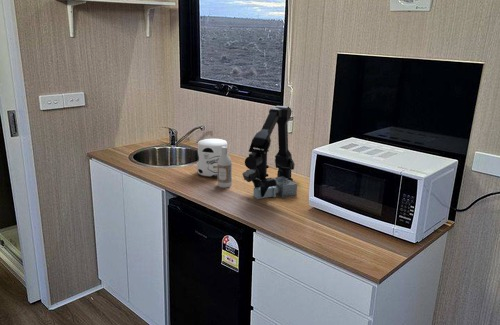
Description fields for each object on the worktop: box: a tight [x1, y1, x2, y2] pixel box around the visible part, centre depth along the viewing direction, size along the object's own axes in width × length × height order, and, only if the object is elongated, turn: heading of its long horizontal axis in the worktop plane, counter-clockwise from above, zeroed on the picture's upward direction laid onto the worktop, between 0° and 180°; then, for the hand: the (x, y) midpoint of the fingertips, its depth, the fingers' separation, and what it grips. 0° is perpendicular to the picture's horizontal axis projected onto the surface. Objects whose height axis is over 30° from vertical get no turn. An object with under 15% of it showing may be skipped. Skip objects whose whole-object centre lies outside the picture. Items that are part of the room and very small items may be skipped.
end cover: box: [253, 185, 279, 200], centre depth 206 cm, size 16×6×5 cm, turn 120°
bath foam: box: [217, 146, 233, 189], centre depth 215 cm, size 7×7×20 cm
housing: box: [272, 176, 298, 199], centre depth 209 cm, size 8×12×6 cm, turn 30°
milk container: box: [196, 138, 228, 178], centre depth 231 cm, size 17×17×18 cm
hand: (259, 195), depth 203 cm, fingers closed on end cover, 4 cm apart
